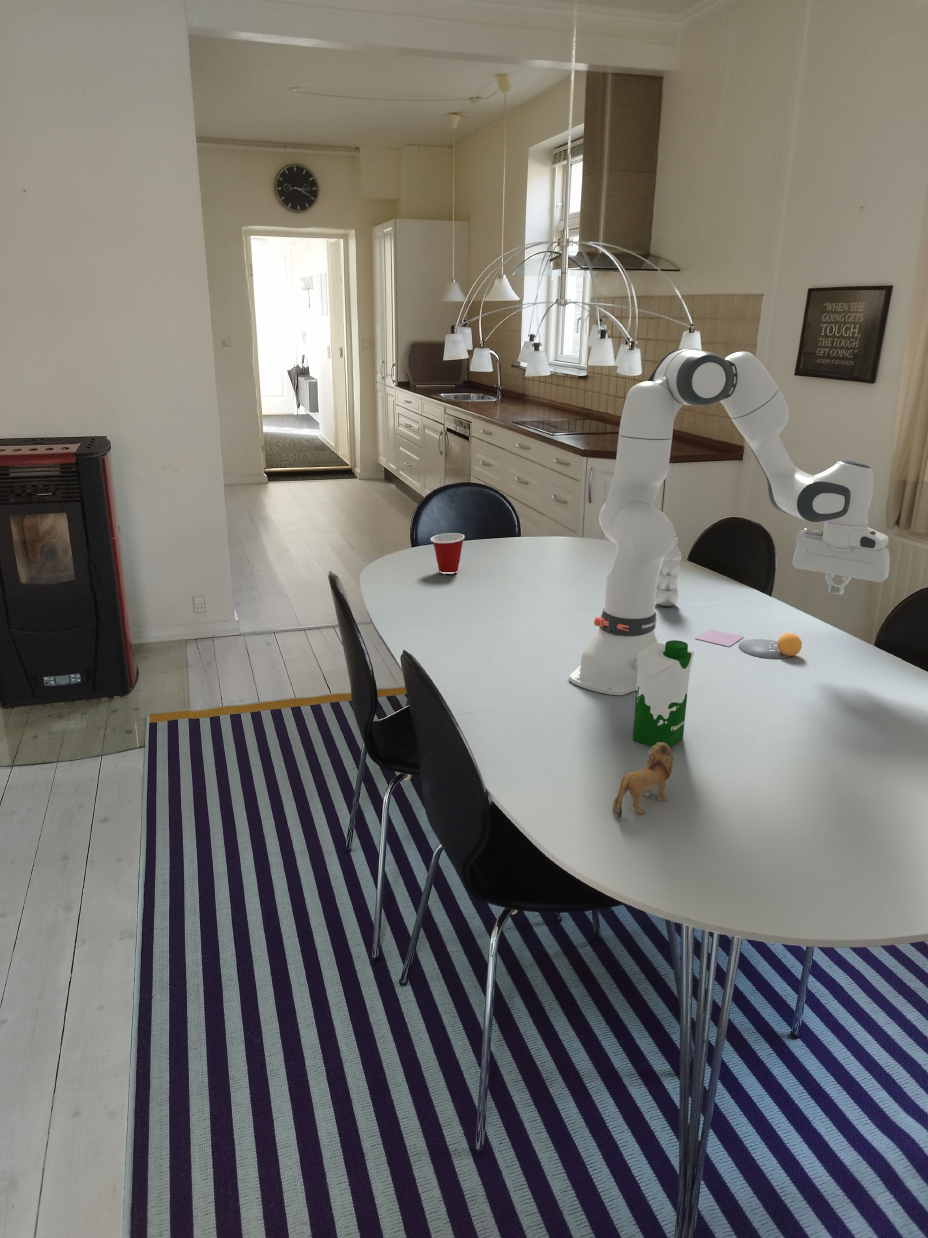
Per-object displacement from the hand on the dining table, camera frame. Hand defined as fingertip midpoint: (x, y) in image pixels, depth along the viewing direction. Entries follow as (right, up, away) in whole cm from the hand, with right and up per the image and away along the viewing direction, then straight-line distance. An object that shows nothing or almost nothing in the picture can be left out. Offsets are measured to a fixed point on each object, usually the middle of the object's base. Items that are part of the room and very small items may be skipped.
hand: (835, 593), depth 195 cm
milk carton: (-48, -29, -32) cm, 65 cm away
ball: (-7, -12, +9) cm, 17 cm away
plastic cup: (-90, +9, +78) cm, 119 cm away
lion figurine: (-55, -36, -53) cm, 85 cm away
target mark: (-11, -13, +14) cm, 22 cm away
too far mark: (-20, -11, +21) cm, 31 cm away
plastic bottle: (-28, -2, +47) cm, 54 cm away
